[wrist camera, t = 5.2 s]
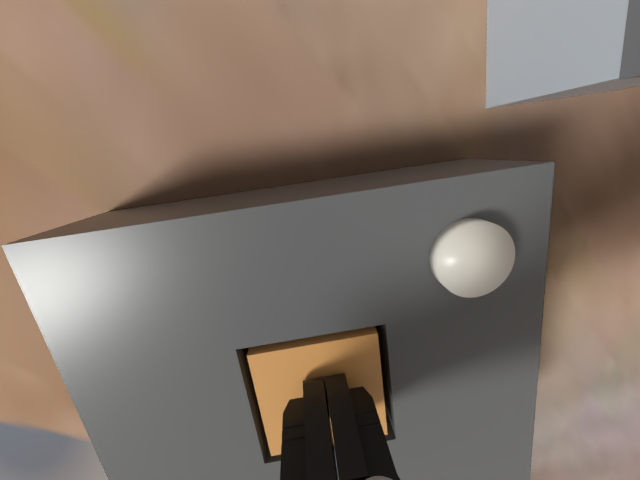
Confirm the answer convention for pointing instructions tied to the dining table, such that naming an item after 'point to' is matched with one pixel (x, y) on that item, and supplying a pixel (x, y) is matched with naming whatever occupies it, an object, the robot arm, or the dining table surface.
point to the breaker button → (313, 372)
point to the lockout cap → (560, 49)
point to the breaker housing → (304, 315)
